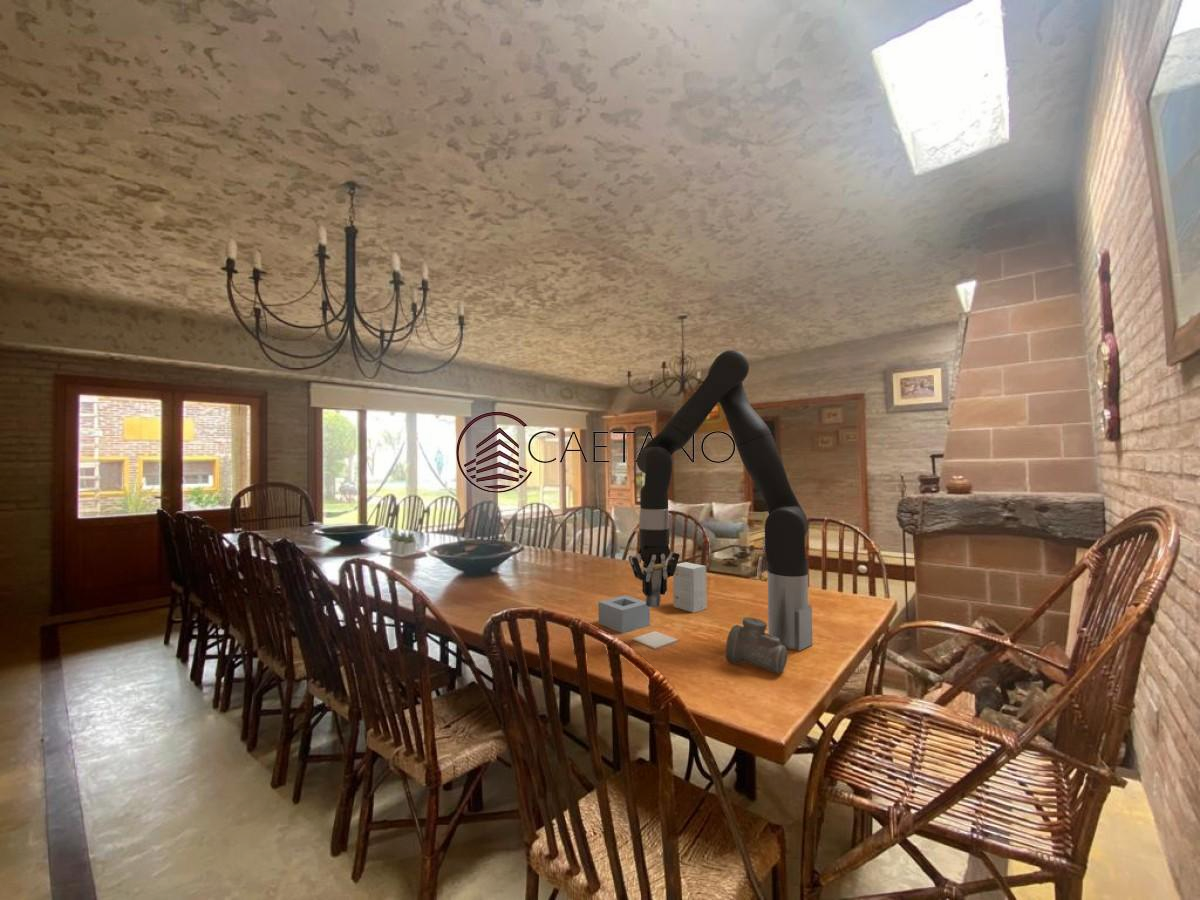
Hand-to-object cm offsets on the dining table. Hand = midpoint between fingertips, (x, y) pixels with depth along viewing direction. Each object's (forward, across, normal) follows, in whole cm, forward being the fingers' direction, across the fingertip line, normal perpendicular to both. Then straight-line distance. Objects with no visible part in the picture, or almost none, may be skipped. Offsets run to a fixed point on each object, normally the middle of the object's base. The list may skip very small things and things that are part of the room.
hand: (654, 594), depth 122 cm
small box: (+12, -23, -18) cm, 32 cm away
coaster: (+11, 0, 0) cm, 11 cm away
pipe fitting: (+11, -12, +23) cm, 28 cm away
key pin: (+3, 0, -1) cm, 3 cm away
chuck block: (+11, +2, -14) cm, 18 cm away
